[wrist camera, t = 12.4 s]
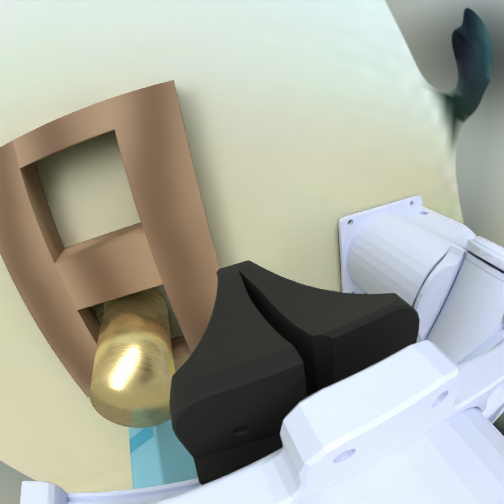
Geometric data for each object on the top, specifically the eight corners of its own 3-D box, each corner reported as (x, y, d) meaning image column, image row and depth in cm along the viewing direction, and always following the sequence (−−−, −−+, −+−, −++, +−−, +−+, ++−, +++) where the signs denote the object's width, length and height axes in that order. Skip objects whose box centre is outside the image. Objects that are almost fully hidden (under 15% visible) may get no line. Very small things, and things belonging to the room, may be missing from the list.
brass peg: (158, 277, 22) (164, 362, 14) (174, 330, 24) (189, 419, 16) (95, 291, 21) (74, 378, 13) (117, 342, 23) (112, 432, 15)
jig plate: (172, 85, 17) (173, 80, 15) (236, 336, 26) (244, 355, 23) (-13, 160, 14) (-30, 165, 12) (90, 377, 23) (87, 397, 21)
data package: (127, 414, 26) (135, 519, 16) (151, 392, 26) (166, 506, 15) (214, 445, 32) (240, 529, 21) (239, 427, 31) (272, 514, 21)
